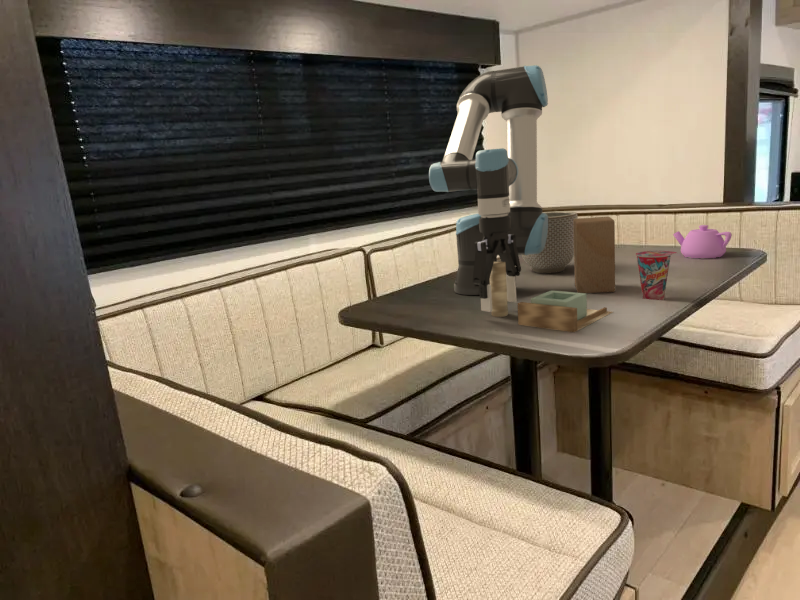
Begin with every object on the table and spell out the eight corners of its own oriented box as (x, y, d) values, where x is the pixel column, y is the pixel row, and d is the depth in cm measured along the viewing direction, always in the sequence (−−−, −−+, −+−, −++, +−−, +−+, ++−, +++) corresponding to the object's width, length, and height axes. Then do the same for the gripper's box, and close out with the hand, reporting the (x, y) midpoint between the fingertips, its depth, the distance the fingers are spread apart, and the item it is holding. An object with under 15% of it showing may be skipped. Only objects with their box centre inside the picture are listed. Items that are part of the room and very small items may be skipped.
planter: (569, 276, 189) (567, 216, 185) (510, 275, 200) (507, 218, 195) (585, 265, 205) (584, 210, 201) (530, 265, 216) (528, 212, 212)
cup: (650, 304, 148) (650, 257, 145) (628, 298, 156) (628, 253, 153) (682, 299, 150) (682, 252, 147) (658, 293, 158) (659, 248, 155)
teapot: (683, 251, 216) (684, 222, 214) (740, 255, 200) (742, 223, 198) (662, 257, 209) (662, 226, 206) (719, 261, 193) (720, 228, 190)
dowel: (488, 319, 147) (485, 264, 144) (497, 315, 150) (495, 261, 147) (502, 321, 145) (499, 264, 142) (511, 317, 147) (508, 261, 144)
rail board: (518, 328, 137) (517, 303, 136) (560, 309, 150) (559, 286, 149) (574, 336, 128) (573, 309, 126) (613, 315, 141) (613, 291, 139)
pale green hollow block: (531, 323, 137) (530, 298, 135) (551, 314, 143) (551, 290, 141) (567, 328, 130) (566, 302, 129) (586, 319, 137) (586, 293, 135)
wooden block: (615, 292, 164) (614, 219, 159) (577, 294, 166) (576, 222, 161) (610, 284, 173) (609, 216, 169) (574, 286, 175) (573, 218, 171)
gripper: (479, 221, 132) (484, 318, 136) (533, 210, 147) (536, 297, 152) (452, 221, 137) (459, 315, 142) (507, 210, 152) (511, 295, 157)
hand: (499, 306), depth 147 cm, fingers open, 10 cm apart
